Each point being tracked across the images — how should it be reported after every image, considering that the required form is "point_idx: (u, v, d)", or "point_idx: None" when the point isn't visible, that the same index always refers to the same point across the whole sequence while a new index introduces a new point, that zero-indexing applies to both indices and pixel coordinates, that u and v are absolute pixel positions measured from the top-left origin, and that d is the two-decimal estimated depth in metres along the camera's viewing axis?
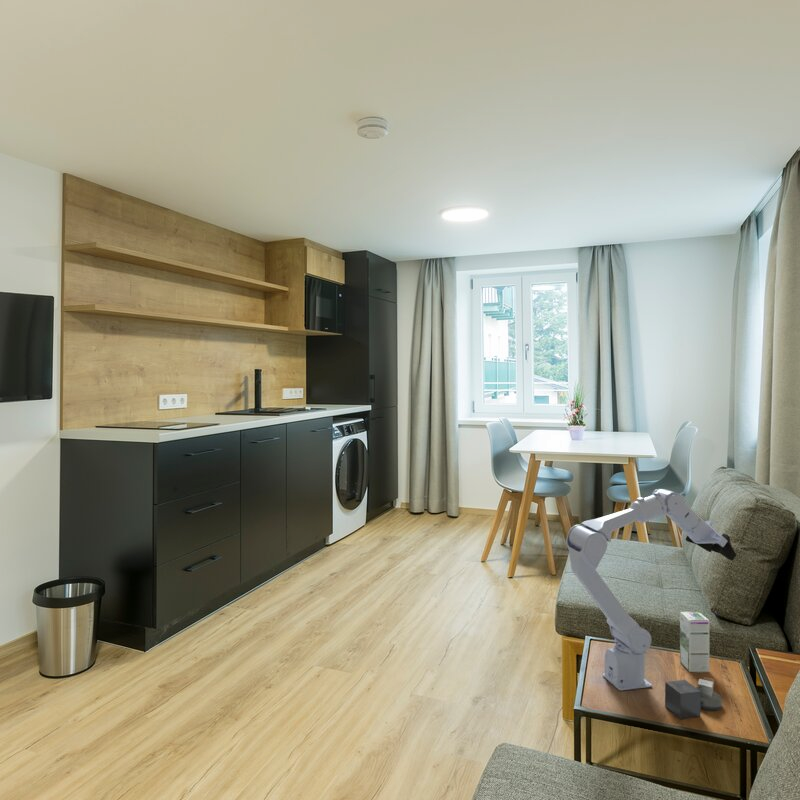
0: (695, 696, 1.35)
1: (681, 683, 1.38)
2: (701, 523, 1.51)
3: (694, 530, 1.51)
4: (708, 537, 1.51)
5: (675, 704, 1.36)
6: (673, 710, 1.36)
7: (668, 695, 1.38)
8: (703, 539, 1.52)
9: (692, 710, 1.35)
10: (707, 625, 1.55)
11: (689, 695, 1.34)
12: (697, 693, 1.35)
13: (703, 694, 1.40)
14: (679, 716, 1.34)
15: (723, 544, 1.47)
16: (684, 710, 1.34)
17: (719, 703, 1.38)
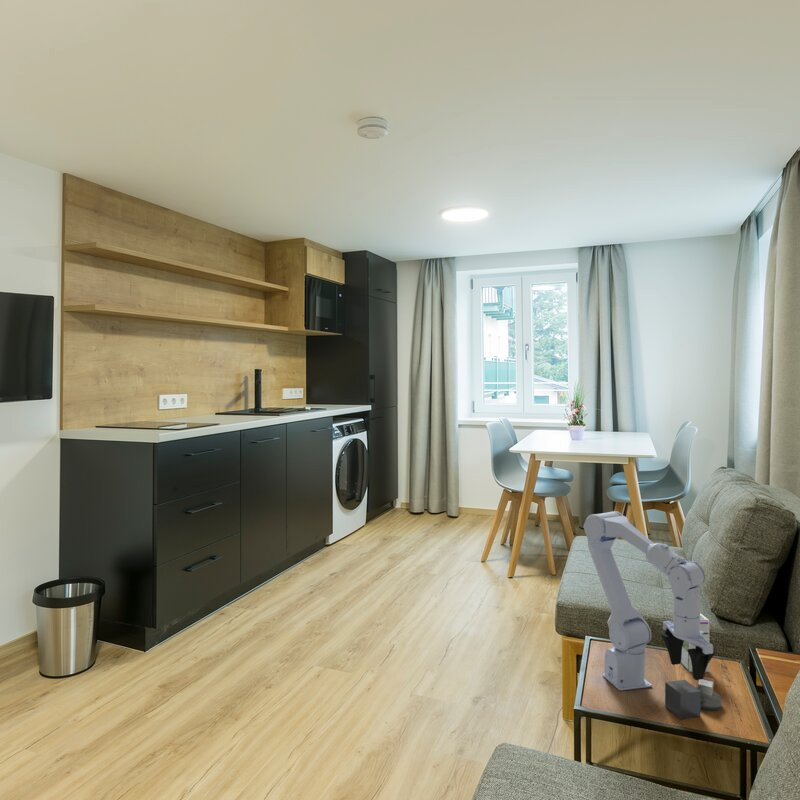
0: (695, 696, 1.35)
1: (681, 683, 1.38)
2: (698, 621, 1.34)
3: (688, 621, 1.34)
4: (694, 639, 1.34)
5: (675, 704, 1.36)
6: (673, 710, 1.36)
7: (668, 695, 1.38)
8: (688, 637, 1.34)
9: (692, 710, 1.35)
10: (707, 625, 1.55)
11: (689, 695, 1.34)
12: (697, 693, 1.35)
13: (703, 694, 1.40)
14: (679, 716, 1.34)
15: (708, 652, 1.30)
16: (684, 710, 1.34)
17: (719, 703, 1.38)
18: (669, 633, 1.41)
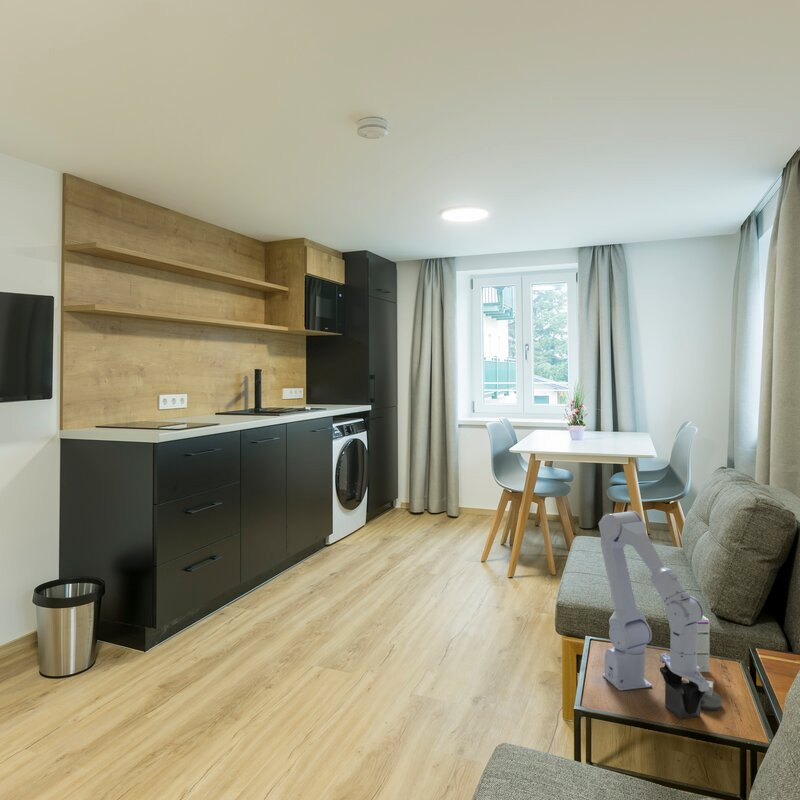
0: None
1: None
2: (695, 657, 1.35)
3: (684, 657, 1.34)
4: (690, 675, 1.34)
5: (675, 704, 1.36)
6: (673, 710, 1.36)
7: (668, 695, 1.38)
8: (684, 672, 1.34)
9: None
10: (707, 625, 1.55)
11: None
12: None
13: None
14: (679, 716, 1.34)
15: (703, 689, 1.30)
16: (684, 710, 1.34)
17: (719, 703, 1.38)
18: (666, 666, 1.41)
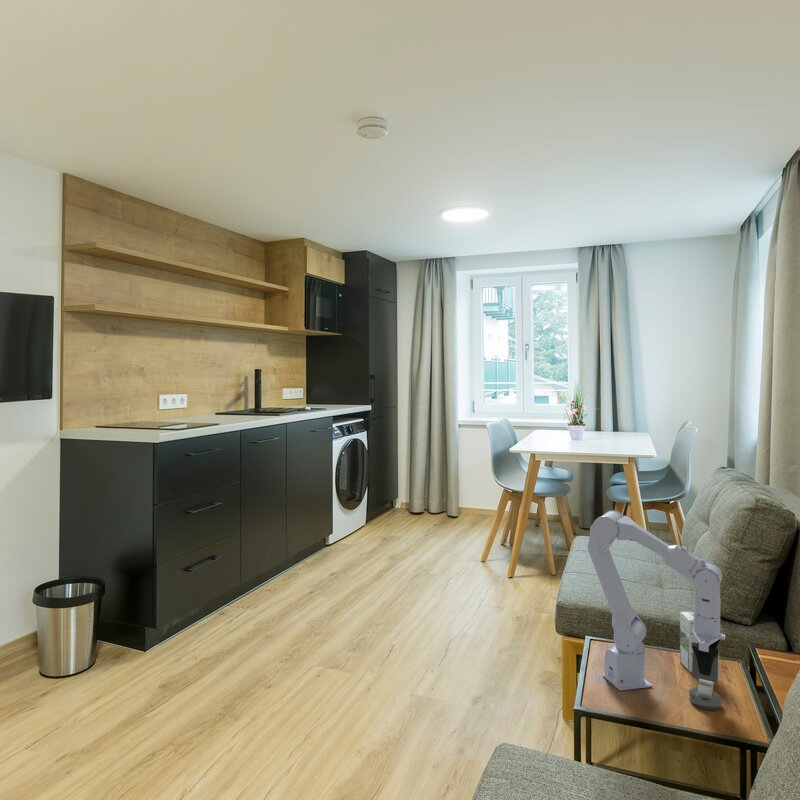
0: None
1: None
2: (711, 622, 1.37)
3: (698, 618, 1.39)
4: (703, 637, 1.38)
5: None
6: None
7: None
8: (698, 633, 1.39)
9: None
10: None
11: None
12: None
13: (703, 694, 1.40)
14: (692, 674, 1.40)
15: (701, 648, 1.35)
16: (697, 670, 1.39)
17: (719, 703, 1.38)
18: None
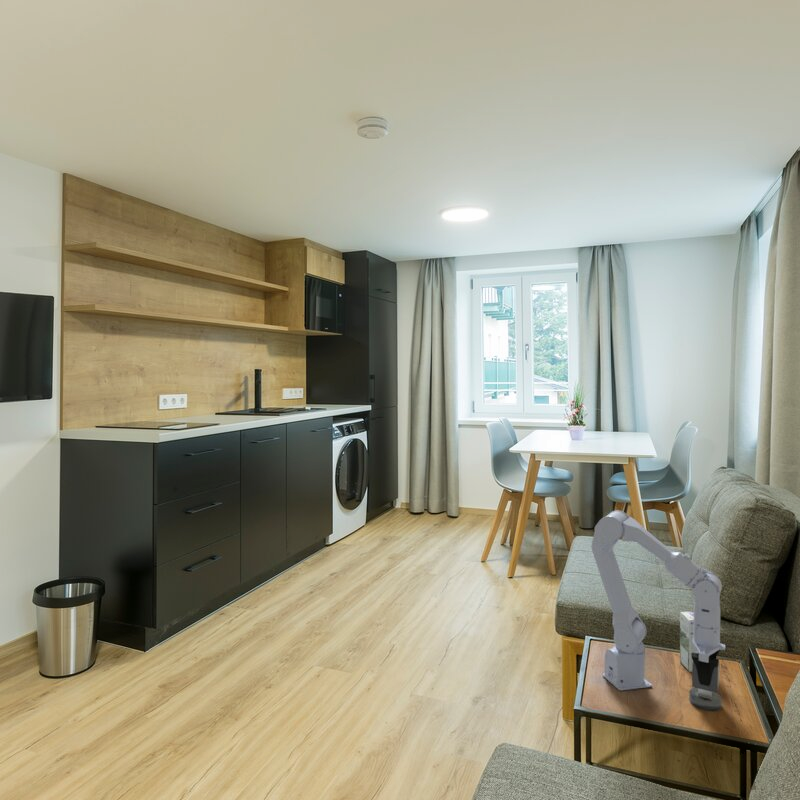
0: None
1: None
2: (710, 632, 1.38)
3: (698, 628, 1.39)
4: (702, 647, 1.38)
5: None
6: None
7: None
8: (697, 643, 1.39)
9: None
10: None
11: None
12: None
13: (703, 694, 1.40)
14: (692, 684, 1.40)
15: (701, 659, 1.35)
16: (697, 680, 1.39)
17: (719, 703, 1.38)
18: None
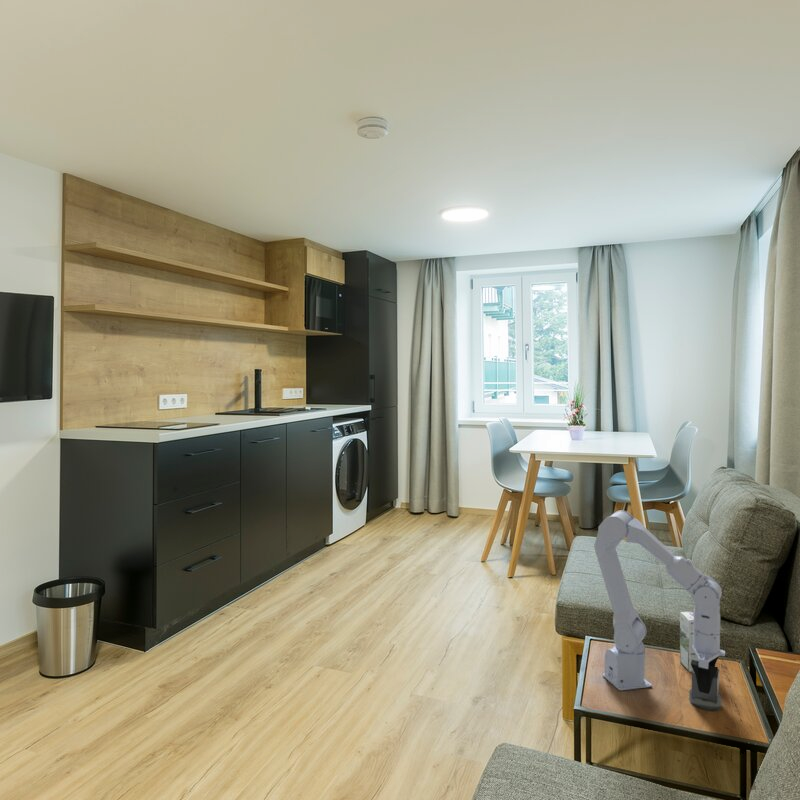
0: None
1: None
2: (710, 638, 1.38)
3: (698, 634, 1.39)
4: (702, 653, 1.38)
5: None
6: None
7: None
8: (697, 650, 1.39)
9: None
10: None
11: None
12: (713, 679, 1.37)
13: None
14: None
15: (701, 665, 1.35)
16: (696, 690, 1.39)
17: (719, 703, 1.38)
18: None
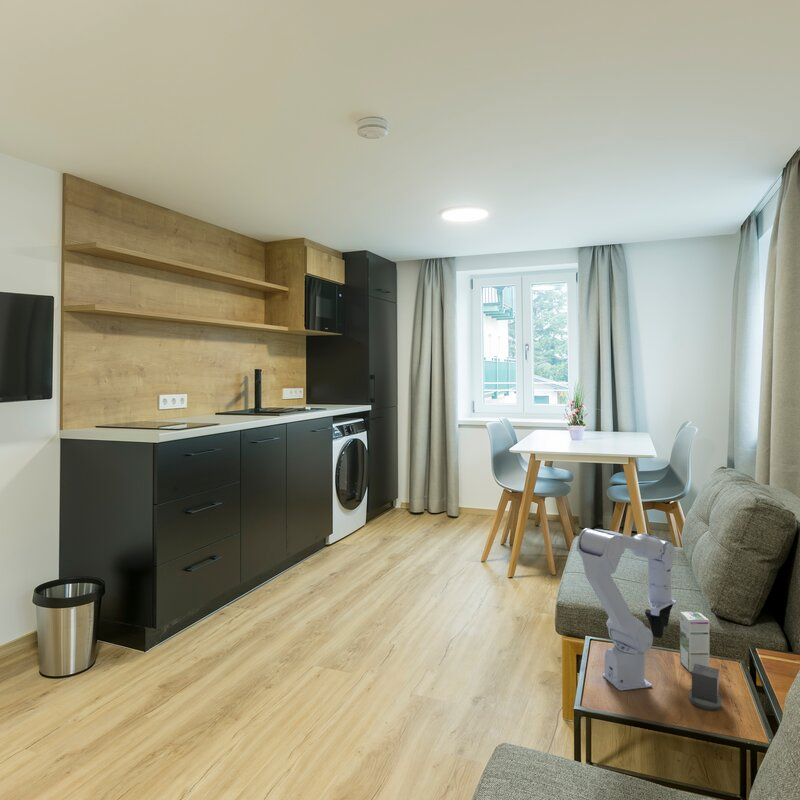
0: (710, 681, 1.38)
1: (709, 669, 1.41)
2: (662, 589, 1.54)
3: (651, 586, 1.56)
4: (655, 603, 1.55)
5: None
6: None
7: None
8: (651, 600, 1.56)
9: (706, 693, 1.38)
10: (707, 625, 1.55)
11: (702, 677, 1.39)
12: (713, 679, 1.37)
13: None
14: None
15: (653, 613, 1.52)
16: (696, 690, 1.39)
17: (719, 703, 1.38)
18: None
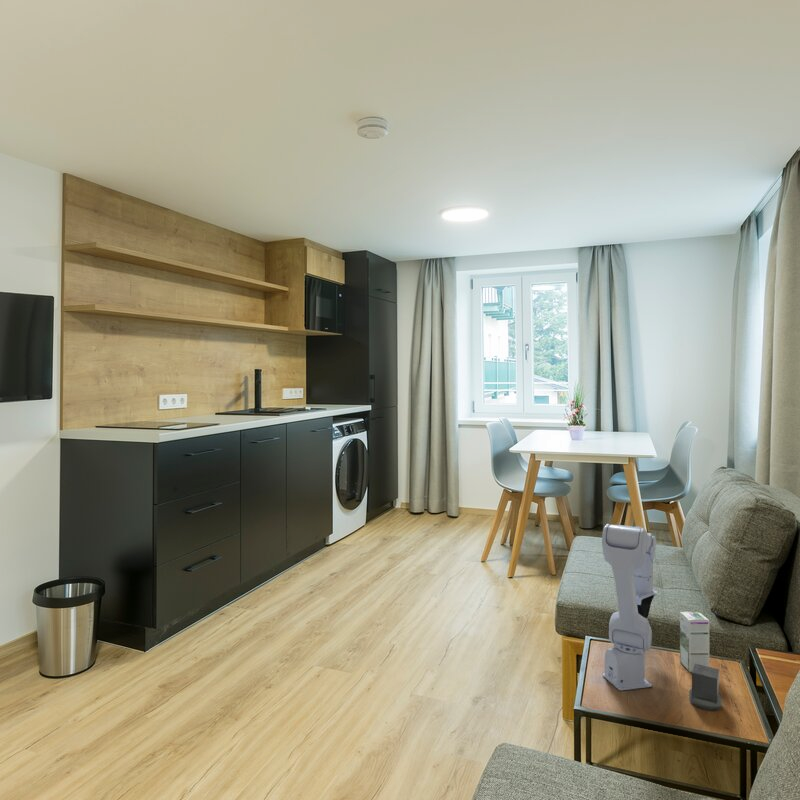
0: (710, 681, 1.38)
1: (709, 669, 1.41)
2: (644, 580, 1.61)
3: (634, 577, 1.62)
4: (637, 593, 1.61)
5: None
6: None
7: None
8: None
9: (706, 693, 1.38)
10: (707, 625, 1.55)
11: (702, 677, 1.39)
12: (713, 679, 1.37)
13: None
14: None
15: None
16: (696, 690, 1.39)
17: (719, 703, 1.38)
18: None
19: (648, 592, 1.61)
